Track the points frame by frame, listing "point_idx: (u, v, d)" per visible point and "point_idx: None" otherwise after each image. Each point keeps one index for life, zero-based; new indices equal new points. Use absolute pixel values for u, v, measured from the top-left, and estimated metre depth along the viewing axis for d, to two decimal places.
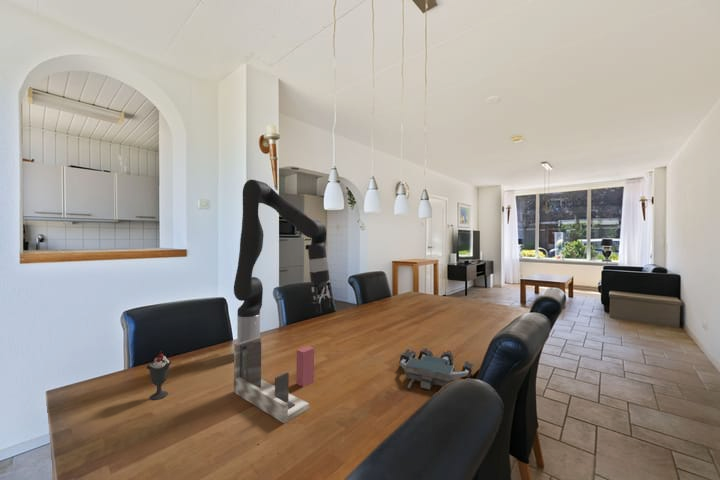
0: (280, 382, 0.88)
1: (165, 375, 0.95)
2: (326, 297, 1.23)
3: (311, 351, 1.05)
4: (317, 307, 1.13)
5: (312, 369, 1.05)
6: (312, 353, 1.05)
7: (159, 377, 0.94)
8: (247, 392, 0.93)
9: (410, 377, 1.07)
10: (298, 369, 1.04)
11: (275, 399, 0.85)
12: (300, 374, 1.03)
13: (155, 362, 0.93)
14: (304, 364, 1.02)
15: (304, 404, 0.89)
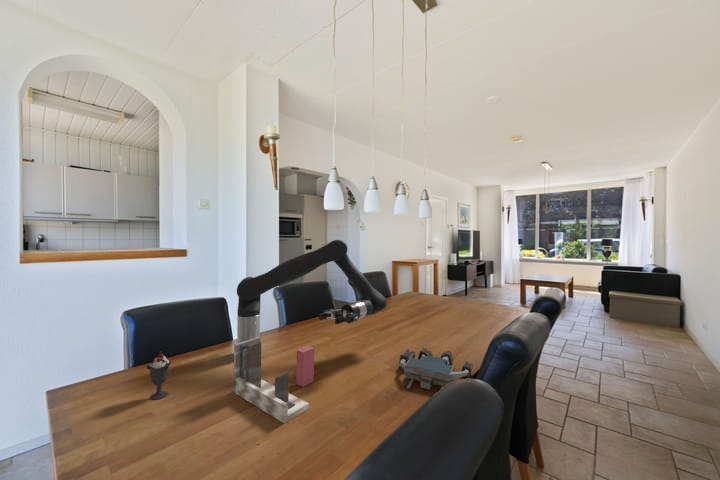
0: (280, 382, 0.88)
1: (165, 375, 0.95)
2: (327, 315, 1.20)
3: (311, 351, 1.05)
4: (341, 321, 1.12)
5: (312, 369, 1.05)
6: (312, 353, 1.05)
7: (159, 377, 0.94)
8: (247, 392, 0.93)
9: (410, 377, 1.07)
10: (298, 369, 1.04)
11: (275, 399, 0.85)
12: (300, 374, 1.03)
13: (155, 362, 0.93)
14: (304, 364, 1.02)
15: (304, 404, 0.89)
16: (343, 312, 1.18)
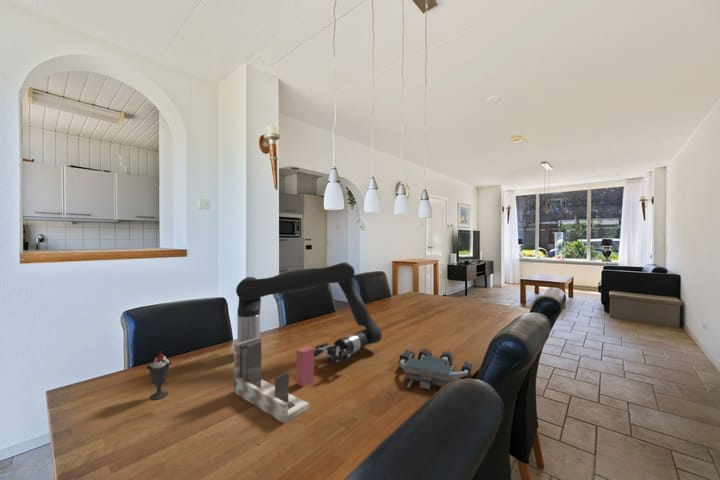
0: (280, 382, 0.88)
1: (165, 375, 0.95)
2: (320, 351, 1.17)
3: (311, 351, 1.05)
4: (334, 360, 1.10)
5: (312, 369, 1.05)
6: (312, 353, 1.05)
7: (159, 377, 0.94)
8: (247, 392, 0.93)
9: (409, 377, 1.07)
10: (298, 369, 1.04)
11: (275, 399, 0.85)
12: (300, 374, 1.03)
13: (155, 362, 0.93)
14: (304, 364, 1.02)
15: (304, 404, 0.89)
16: (336, 349, 1.15)
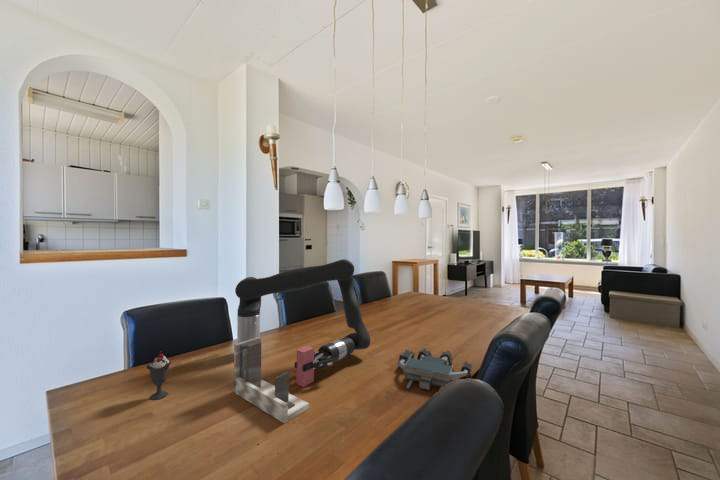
0: (280, 382, 0.88)
1: (165, 375, 0.95)
2: None
3: (311, 351, 1.05)
4: (310, 368, 1.03)
5: (312, 369, 1.05)
6: (312, 353, 1.05)
7: (159, 377, 0.94)
8: (247, 392, 0.93)
9: (409, 377, 1.07)
10: (298, 369, 1.04)
11: (275, 399, 0.85)
12: (300, 374, 1.03)
13: (155, 362, 0.93)
14: (304, 364, 1.02)
15: (304, 404, 0.89)
16: (317, 356, 1.08)
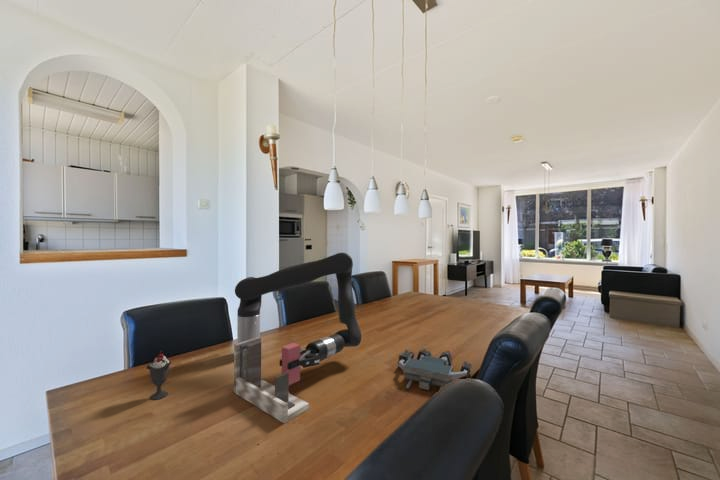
0: (280, 382, 0.88)
1: (165, 375, 0.95)
2: None
3: (297, 348, 1.00)
4: (295, 365, 0.98)
5: (298, 367, 1.00)
6: (298, 350, 1.00)
7: (159, 377, 0.94)
8: (247, 392, 0.93)
9: (409, 377, 1.07)
10: (283, 367, 0.98)
11: (275, 399, 0.85)
12: (285, 372, 0.98)
13: (155, 362, 0.93)
14: None
15: (304, 404, 0.89)
16: (304, 353, 1.03)
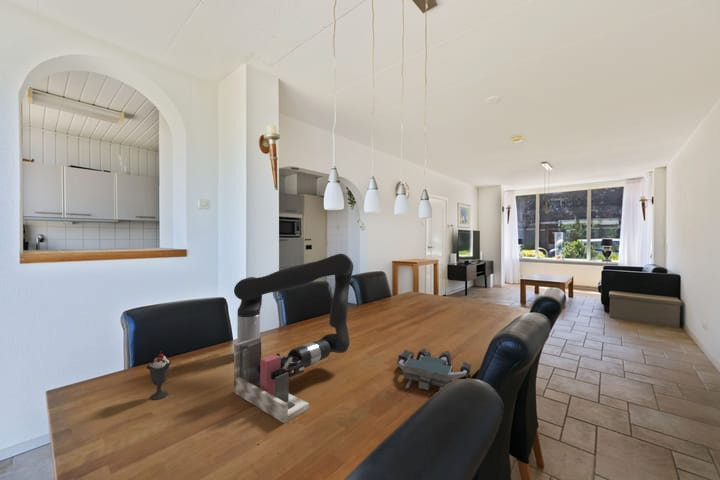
0: (280, 382, 0.88)
1: (165, 375, 0.95)
2: None
3: (277, 360, 0.94)
4: None
5: None
6: (278, 362, 0.94)
7: (159, 377, 0.94)
8: (247, 392, 0.93)
9: (408, 378, 1.07)
10: (262, 381, 0.92)
11: (275, 399, 0.85)
12: (264, 386, 0.91)
13: (155, 362, 0.93)
14: (268, 375, 0.91)
15: (304, 404, 0.89)
16: (287, 361, 0.96)
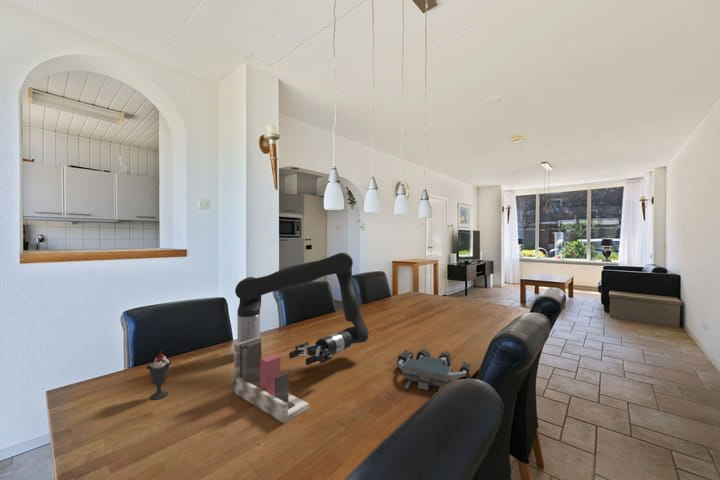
0: (280, 382, 0.88)
1: (165, 375, 0.95)
2: (299, 351, 1.09)
3: (277, 360, 0.94)
4: (313, 361, 1.01)
5: None
6: (278, 362, 0.94)
7: (159, 377, 0.94)
8: (247, 392, 0.93)
9: (408, 378, 1.07)
10: (262, 381, 0.92)
11: (275, 399, 0.85)
12: (264, 386, 0.91)
13: (155, 362, 0.93)
14: (268, 375, 0.91)
15: (304, 404, 0.89)
16: (316, 349, 1.07)
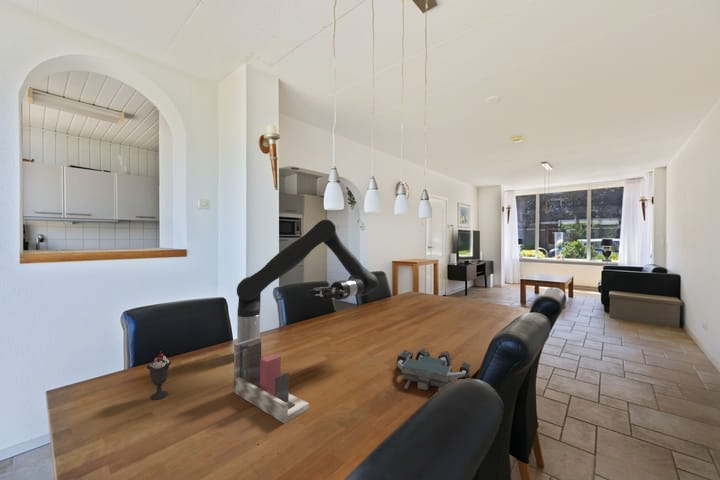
0: (280, 382, 0.88)
1: (165, 375, 0.95)
2: (316, 292, 1.16)
3: (277, 360, 0.94)
4: (330, 297, 1.09)
5: None
6: (278, 362, 0.94)
7: (159, 377, 0.94)
8: (247, 392, 0.93)
9: (407, 378, 1.07)
10: (262, 381, 0.92)
11: (275, 399, 0.85)
12: (264, 386, 0.91)
13: (155, 362, 0.93)
14: (268, 375, 0.91)
15: (304, 404, 0.89)
16: (332, 289, 1.14)
